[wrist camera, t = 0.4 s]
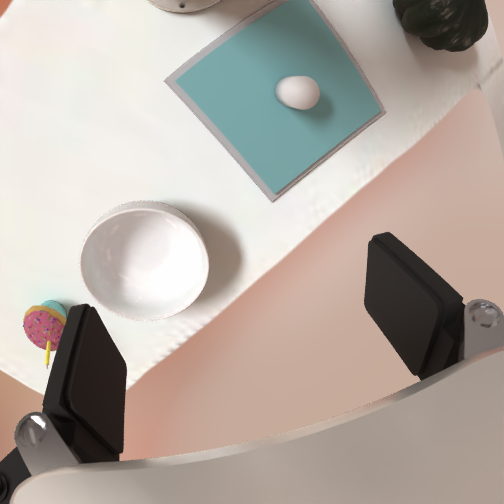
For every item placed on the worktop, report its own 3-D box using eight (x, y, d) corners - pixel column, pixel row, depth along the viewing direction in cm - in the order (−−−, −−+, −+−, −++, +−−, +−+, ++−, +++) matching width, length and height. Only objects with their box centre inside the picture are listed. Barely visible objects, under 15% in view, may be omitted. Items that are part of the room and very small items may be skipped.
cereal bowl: (133, 308, 49) (130, 338, 43) (69, 228, 40) (54, 253, 34) (225, 260, 48) (232, 287, 42) (167, 165, 40) (165, 181, 34)
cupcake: (79, 301, 46) (63, 355, 36) (72, 336, 49) (59, 388, 39) (33, 284, 43) (8, 334, 33) (30, 320, 46) (10, 370, 36)
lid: (175, 81, 34) (174, 79, 29) (300, -6, 31) (317, -17, 26) (272, 192, 44) (285, 208, 39) (378, 109, 41) (401, 115, 36)
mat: (163, 80, 34) (163, 80, 34) (299, -14, 31) (301, -14, 30) (270, 200, 45) (271, 202, 45) (383, 111, 42) (385, 112, 41)
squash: (468, 79, 35) (524, 25, 21) (394, 50, 33) (451, -26, 18) (435, 23, 38) (476, -29, 24) (364, -4, 36) (402, -70, 21)
